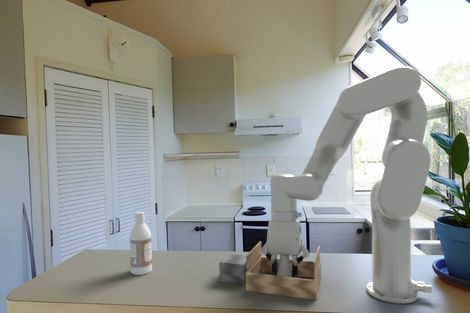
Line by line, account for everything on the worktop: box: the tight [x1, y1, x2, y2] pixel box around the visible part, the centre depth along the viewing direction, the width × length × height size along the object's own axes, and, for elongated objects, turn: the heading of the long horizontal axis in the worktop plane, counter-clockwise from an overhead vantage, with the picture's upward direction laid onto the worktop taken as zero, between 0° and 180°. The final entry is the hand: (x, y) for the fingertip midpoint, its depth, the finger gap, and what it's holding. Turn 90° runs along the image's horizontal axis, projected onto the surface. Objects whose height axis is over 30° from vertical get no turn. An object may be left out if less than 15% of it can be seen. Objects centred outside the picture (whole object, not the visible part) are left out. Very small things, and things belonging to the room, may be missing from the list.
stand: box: [218, 253, 246, 286], centre depth 102 cm, size 8×8×6 cm
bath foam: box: [129, 211, 153, 276], centre depth 109 cm, size 7×7×20 cm
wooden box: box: [245, 240, 322, 301], centre depth 96 cm, size 20×16×10 cm
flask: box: [276, 254, 292, 277], centre depth 96 cm, size 7×7×10 cm
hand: (284, 275), depth 96 cm, fingers closed on flask, 4 cm apart
